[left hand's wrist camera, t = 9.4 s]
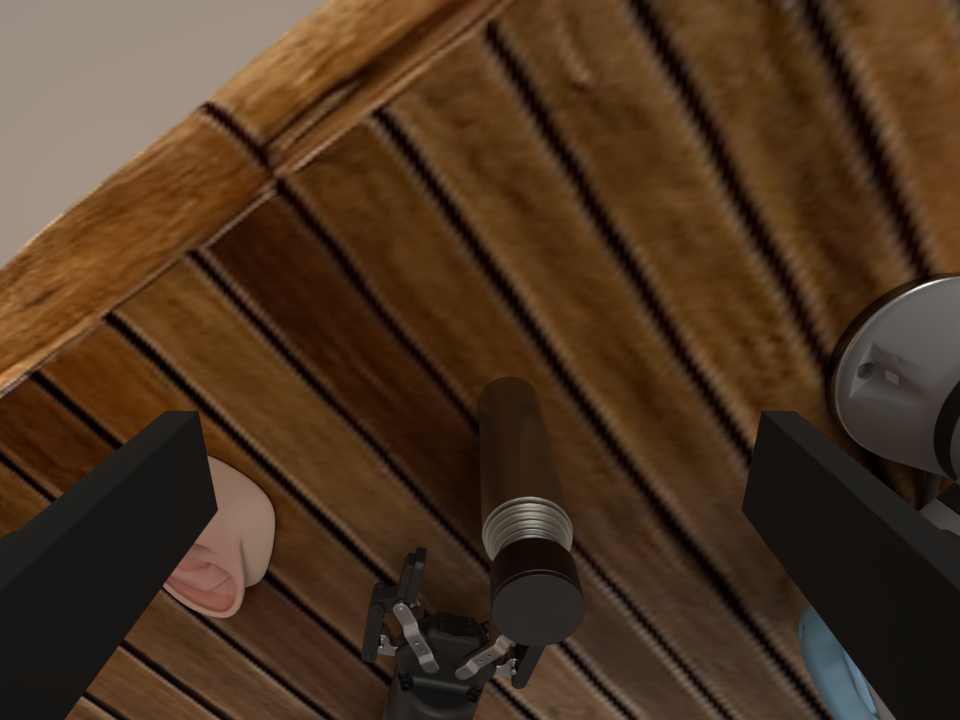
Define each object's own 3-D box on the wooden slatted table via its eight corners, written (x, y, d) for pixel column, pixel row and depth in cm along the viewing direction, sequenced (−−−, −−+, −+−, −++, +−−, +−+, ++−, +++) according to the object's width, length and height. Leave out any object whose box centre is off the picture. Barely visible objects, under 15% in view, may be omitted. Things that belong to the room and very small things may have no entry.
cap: (509, 526, 26) (513, 564, 23) (589, 551, 26) (601, 590, 24) (477, 591, 27) (477, 632, 25) (554, 613, 28) (561, 656, 25)
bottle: (492, 368, 43) (508, 549, 23) (548, 388, 44) (609, 580, 24) (470, 420, 44) (468, 628, 25) (524, 438, 45) (564, 655, 26)
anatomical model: (137, 465, 41) (284, 516, 43) (164, 438, 44) (299, 487, 46) (103, 590, 45) (238, 632, 47) (131, 557, 49) (255, 597, 51)
